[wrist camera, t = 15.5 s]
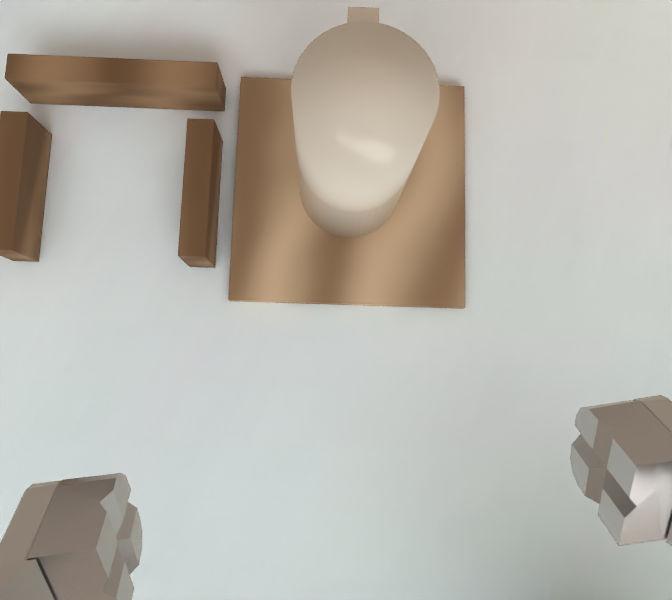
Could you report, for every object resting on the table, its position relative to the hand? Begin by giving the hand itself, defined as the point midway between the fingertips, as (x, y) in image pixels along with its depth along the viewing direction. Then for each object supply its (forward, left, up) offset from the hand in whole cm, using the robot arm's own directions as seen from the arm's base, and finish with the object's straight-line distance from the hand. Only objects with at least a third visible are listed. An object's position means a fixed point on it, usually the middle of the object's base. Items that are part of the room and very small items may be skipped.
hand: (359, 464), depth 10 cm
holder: (-13, +14, -24) cm, 30 cm away
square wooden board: (+1, +13, -24) cm, 27 cm away
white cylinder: (+1, +14, -23) cm, 27 cm away
